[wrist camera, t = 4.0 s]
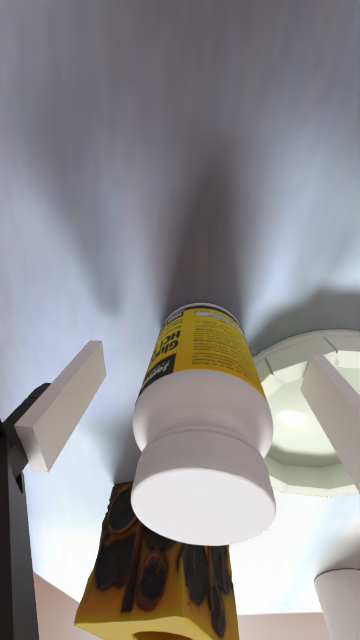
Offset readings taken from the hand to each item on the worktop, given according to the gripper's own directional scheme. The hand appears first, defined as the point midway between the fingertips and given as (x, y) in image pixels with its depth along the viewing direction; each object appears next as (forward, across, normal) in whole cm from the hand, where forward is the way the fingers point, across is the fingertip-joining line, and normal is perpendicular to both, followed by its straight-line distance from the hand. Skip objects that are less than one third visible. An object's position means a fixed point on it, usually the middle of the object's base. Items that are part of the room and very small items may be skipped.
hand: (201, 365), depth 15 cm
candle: (+4, -2, -22) cm, 22 cm away
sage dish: (+3, +10, -6) cm, 12 cm away
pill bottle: (+3, 0, 0) cm, 3 cm away
